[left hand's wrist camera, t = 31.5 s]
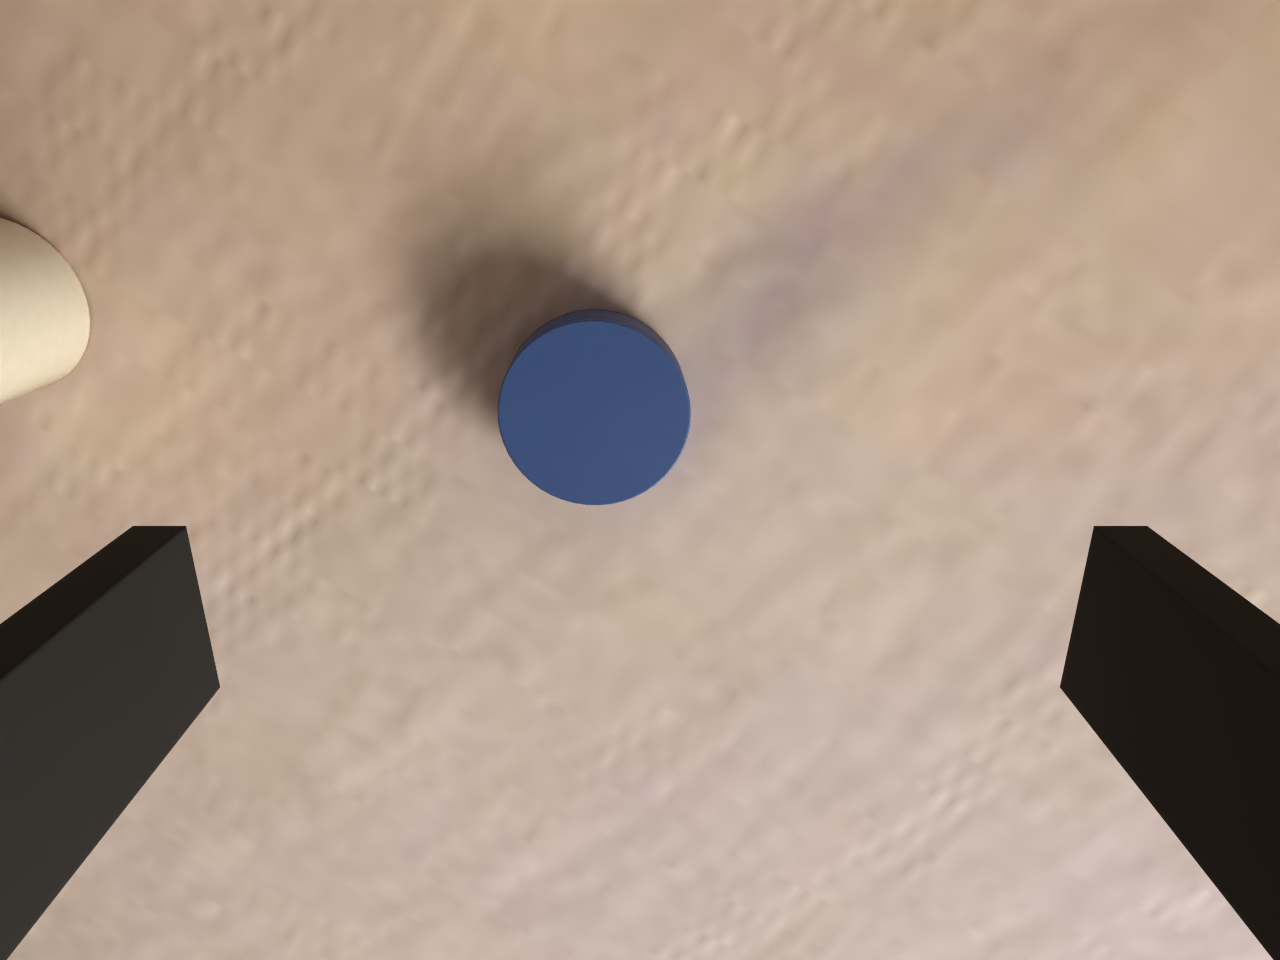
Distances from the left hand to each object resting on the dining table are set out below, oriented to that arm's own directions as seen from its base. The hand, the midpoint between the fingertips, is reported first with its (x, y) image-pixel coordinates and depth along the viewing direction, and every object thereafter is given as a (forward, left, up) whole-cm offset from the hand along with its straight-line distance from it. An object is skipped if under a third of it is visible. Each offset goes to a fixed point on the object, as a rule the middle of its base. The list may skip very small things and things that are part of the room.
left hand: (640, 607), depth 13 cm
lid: (+1, 0, -11) cm, 11 cm away
